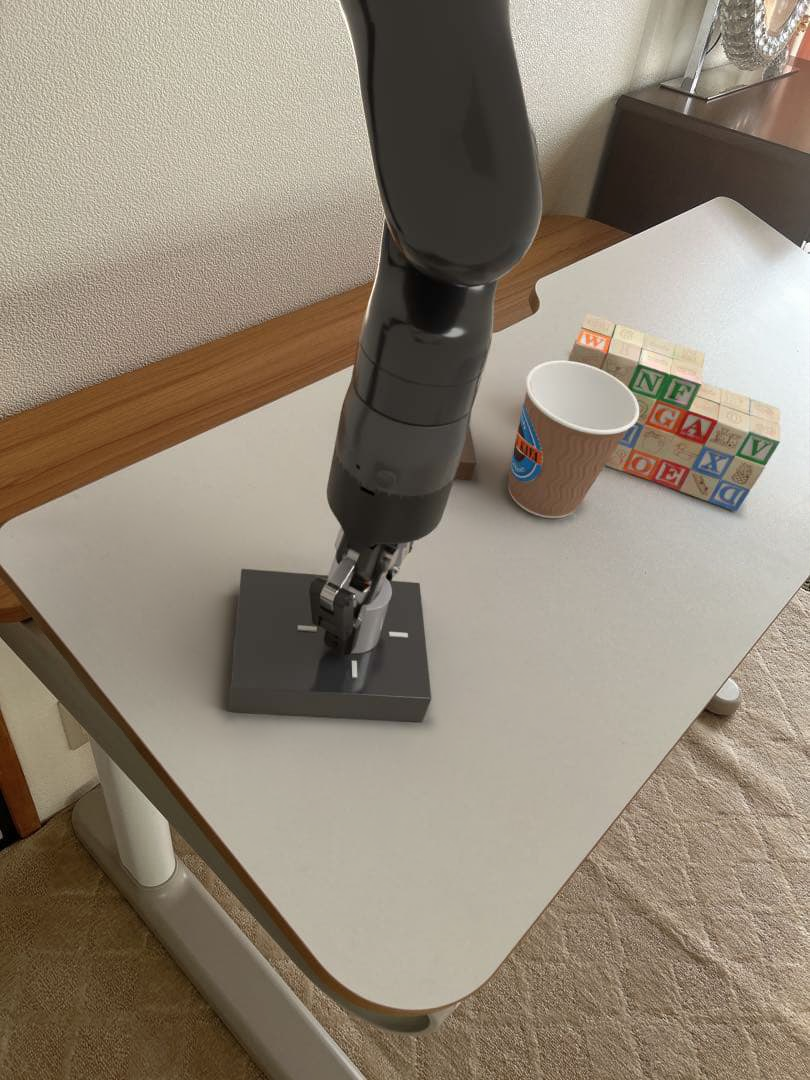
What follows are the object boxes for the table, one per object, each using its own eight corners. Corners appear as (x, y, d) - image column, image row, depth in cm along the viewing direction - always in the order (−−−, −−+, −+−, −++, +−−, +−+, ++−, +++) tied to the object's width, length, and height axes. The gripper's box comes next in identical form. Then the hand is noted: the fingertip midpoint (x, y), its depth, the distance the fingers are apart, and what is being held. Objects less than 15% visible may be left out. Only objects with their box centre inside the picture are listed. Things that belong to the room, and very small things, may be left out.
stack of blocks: (739, 478, 94) (797, 383, 85) (736, 513, 89) (797, 417, 81) (548, 409, 96) (586, 310, 87) (536, 441, 92) (575, 340, 83)
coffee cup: (483, 454, 88) (517, 353, 80) (580, 464, 90) (623, 367, 82) (499, 527, 81) (537, 424, 73) (604, 536, 83) (653, 437, 75)
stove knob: (376, 658, 64) (389, 612, 60) (322, 647, 64) (331, 600, 60) (382, 617, 67) (395, 570, 63) (331, 606, 67) (341, 558, 63)
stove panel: (228, 712, 62) (231, 686, 60) (238, 593, 70) (241, 566, 68) (423, 722, 65) (432, 697, 63) (412, 606, 72) (420, 581, 70)
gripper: (395, 369, 58) (355, 546, 71) (281, 485, 49) (257, 668, 61) (497, 416, 57) (438, 588, 69) (401, 545, 47) (352, 720, 59)
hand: (354, 624), depth 65 cm, fingers closed on stove knob, 4 cm apart
